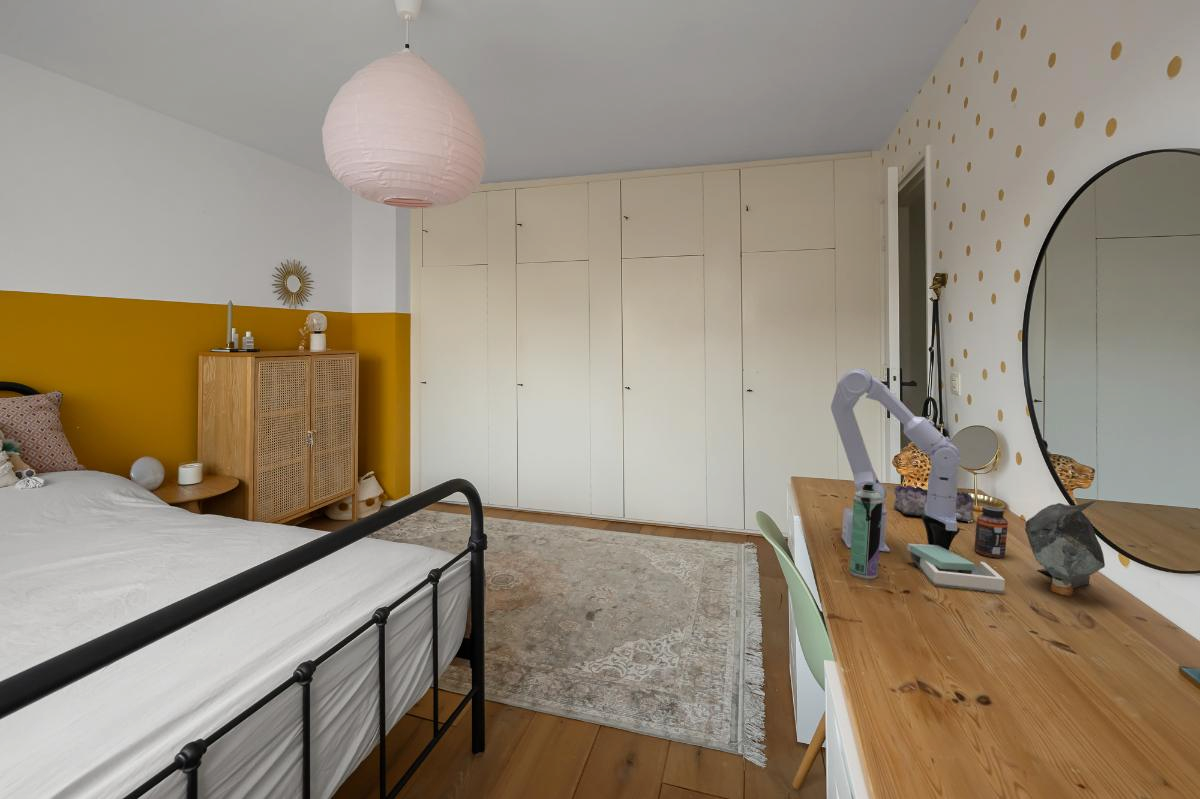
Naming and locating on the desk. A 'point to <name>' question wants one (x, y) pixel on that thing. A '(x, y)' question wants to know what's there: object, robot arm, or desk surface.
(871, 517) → the spray can
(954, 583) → the tray
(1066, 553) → the faceted stone sculpture
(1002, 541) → the supplement bottle
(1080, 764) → the desk surface
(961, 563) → the mint green block
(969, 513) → the geode
